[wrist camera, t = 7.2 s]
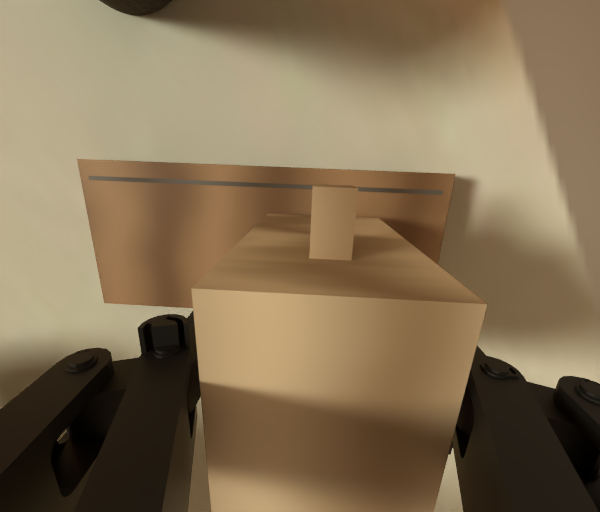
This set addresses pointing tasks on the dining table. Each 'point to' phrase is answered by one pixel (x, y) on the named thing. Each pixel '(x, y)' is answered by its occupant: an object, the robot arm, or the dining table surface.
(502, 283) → the dining table surface
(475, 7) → the dining table surface
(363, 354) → the tan block with peg
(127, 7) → the coffee cup
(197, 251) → the plank
